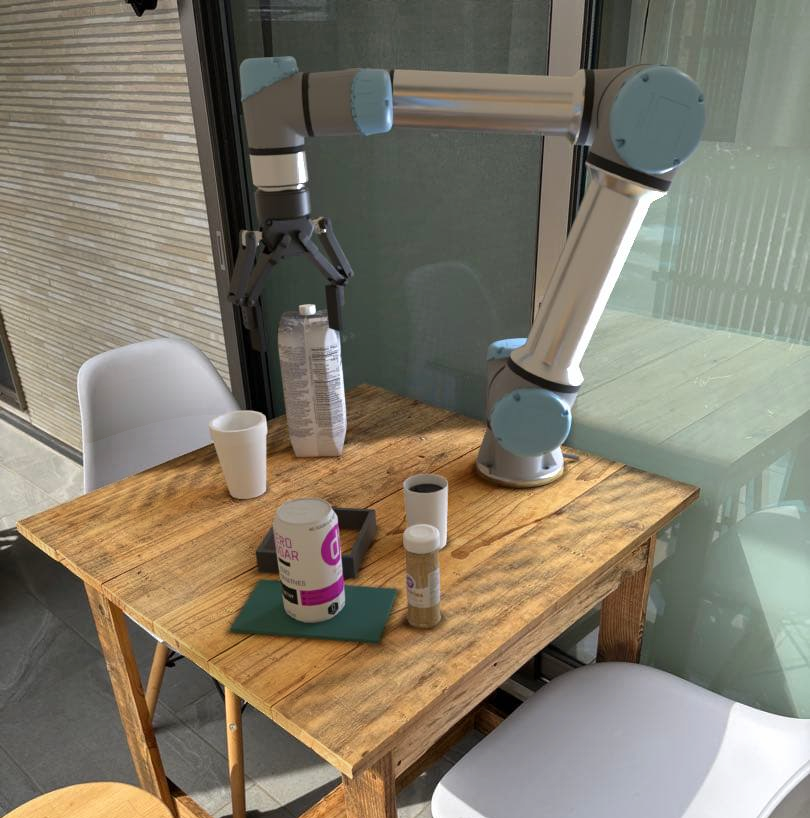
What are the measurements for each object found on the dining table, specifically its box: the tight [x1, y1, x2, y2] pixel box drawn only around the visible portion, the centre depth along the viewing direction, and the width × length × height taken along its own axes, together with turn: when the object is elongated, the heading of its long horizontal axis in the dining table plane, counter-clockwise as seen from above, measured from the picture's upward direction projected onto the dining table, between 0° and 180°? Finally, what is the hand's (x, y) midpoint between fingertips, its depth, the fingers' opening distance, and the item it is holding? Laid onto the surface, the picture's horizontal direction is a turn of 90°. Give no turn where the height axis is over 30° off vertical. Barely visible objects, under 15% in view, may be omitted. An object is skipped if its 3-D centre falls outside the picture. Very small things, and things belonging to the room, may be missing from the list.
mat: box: [229, 579, 398, 645], centre depth 115 cm, size 20×12×1 cm, turn 79°
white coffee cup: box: [402, 473, 449, 550], centre depth 127 cm, size 7×7×10 cm
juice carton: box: [276, 303, 348, 458], centre depth 155 cm, size 9×10×27 cm
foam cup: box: [208, 410, 268, 500], centre depth 144 cm, size 10×9×13 cm
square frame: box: [254, 506, 378, 579], centre depth 128 cm, size 15×15×4 cm
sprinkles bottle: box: [402, 524, 442, 629], centre depth 109 cm, size 5×5×13 cm
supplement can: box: [272, 496, 345, 623], centre depth 111 cm, size 8×8×15 cm
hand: (298, 339), depth 127 cm, fingers open, 13 cm apart
